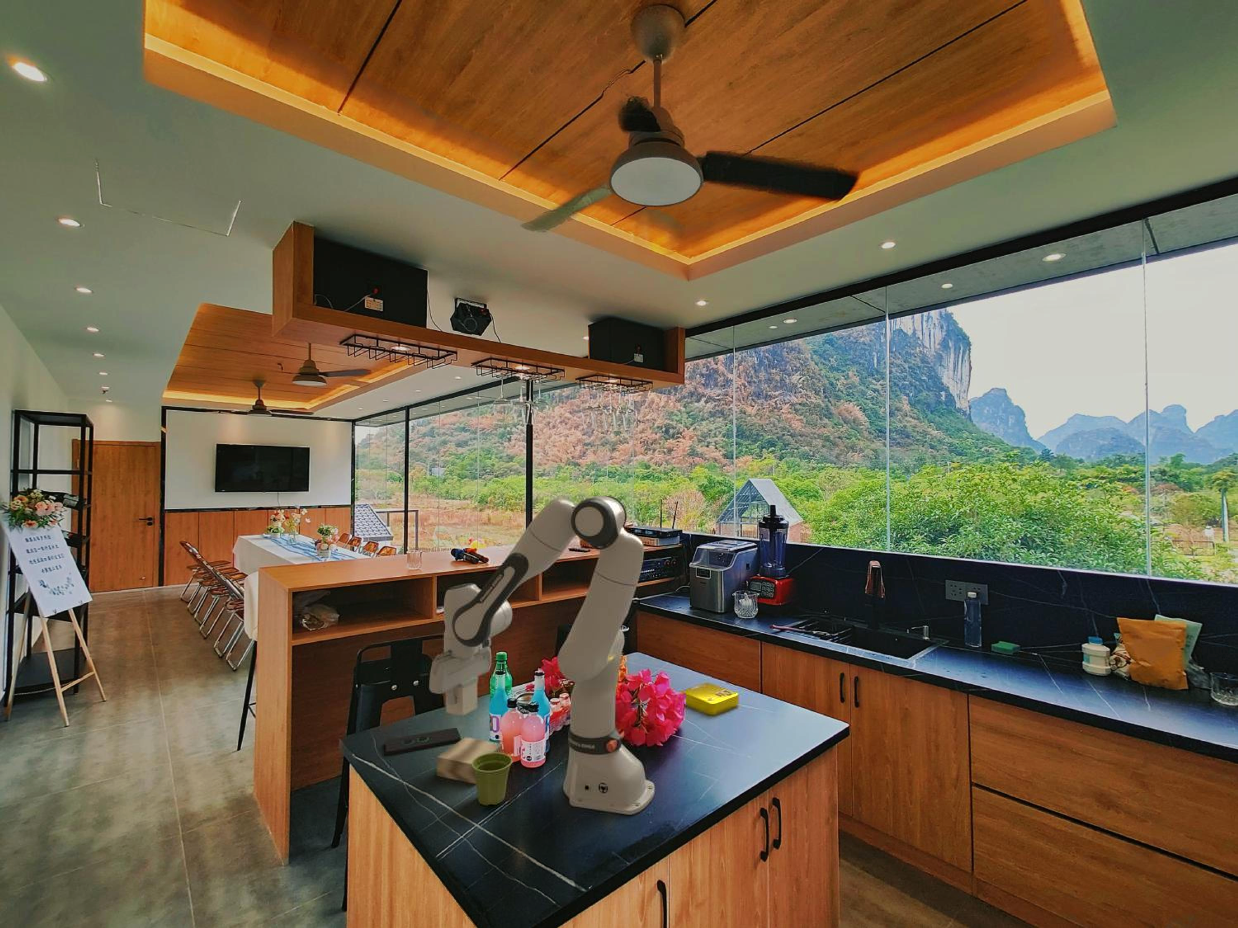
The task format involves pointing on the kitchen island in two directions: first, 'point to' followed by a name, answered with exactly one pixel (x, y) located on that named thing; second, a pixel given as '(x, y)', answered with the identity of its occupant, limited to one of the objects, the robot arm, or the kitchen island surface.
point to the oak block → (464, 758)
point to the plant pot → (491, 776)
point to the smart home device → (422, 741)
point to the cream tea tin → (464, 697)
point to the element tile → (711, 698)
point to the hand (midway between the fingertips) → (462, 699)
